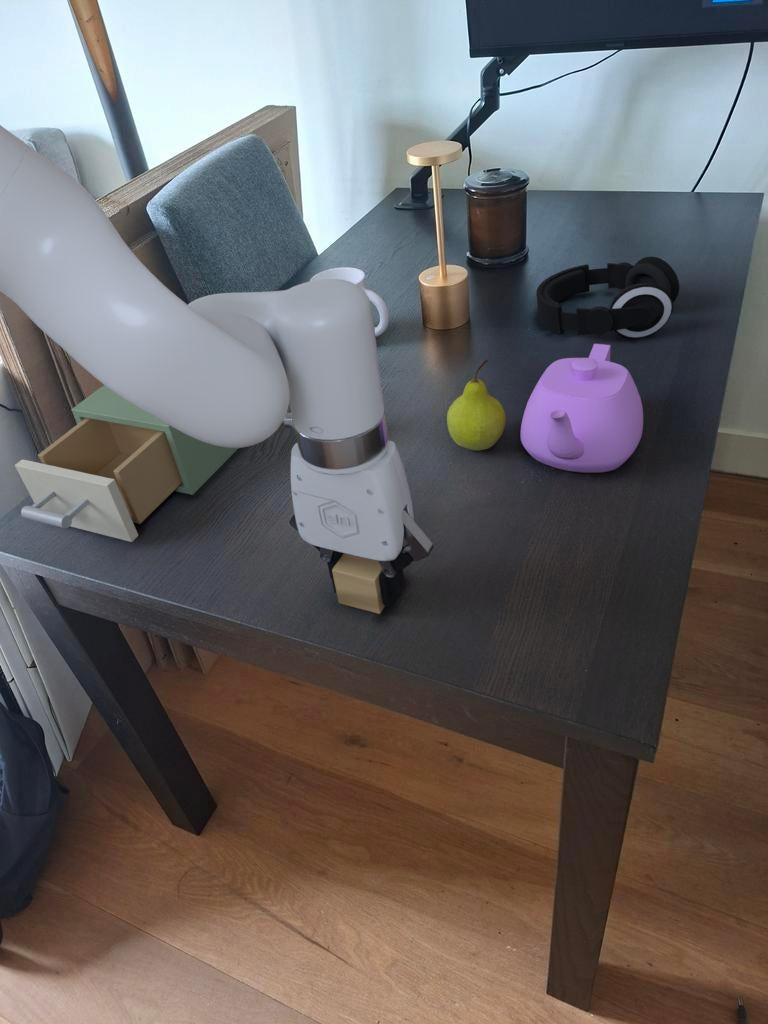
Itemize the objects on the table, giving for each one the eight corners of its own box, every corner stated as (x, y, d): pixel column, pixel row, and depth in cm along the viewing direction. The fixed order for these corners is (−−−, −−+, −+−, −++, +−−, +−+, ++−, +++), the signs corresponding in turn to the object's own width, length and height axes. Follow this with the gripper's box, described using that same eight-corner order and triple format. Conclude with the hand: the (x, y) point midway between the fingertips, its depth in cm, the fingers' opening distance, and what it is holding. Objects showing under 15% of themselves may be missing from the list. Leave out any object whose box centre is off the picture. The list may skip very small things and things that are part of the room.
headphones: (666, 293, 99) (519, 298, 108) (666, 348, 104) (525, 349, 113) (687, 244, 111) (552, 253, 120) (686, 295, 116) (556, 300, 125)
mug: (404, 336, 117) (397, 271, 110) (378, 361, 112) (369, 295, 105) (338, 327, 122) (328, 264, 116) (310, 350, 117) (298, 286, 110)
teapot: (494, 488, 85) (492, 403, 78) (549, 398, 98) (550, 318, 91) (615, 512, 80) (624, 423, 73) (655, 413, 93) (666, 330, 86)
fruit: (437, 450, 92) (429, 362, 85) (471, 424, 96) (466, 337, 88) (483, 468, 88) (479, 377, 81) (517, 440, 92) (516, 351, 84)
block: (380, 614, 72) (374, 580, 69) (338, 603, 74) (331, 569, 71) (399, 582, 75) (394, 549, 72) (358, 572, 77) (352, 539, 74)
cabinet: (192, 495, 91) (168, 426, 85) (99, 475, 97) (70, 409, 91) (257, 428, 101) (240, 363, 95) (170, 414, 107) (148, 351, 101)
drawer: (106, 568, 81) (78, 511, 76) (15, 542, 86) (-16, 487, 81) (202, 471, 93) (184, 416, 88) (118, 454, 98) (96, 402, 93)
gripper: (232, 443, 63) (275, 596, 75) (418, 477, 57) (434, 640, 68) (278, 398, 69) (312, 548, 80) (454, 424, 62) (463, 584, 73)
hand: (368, 588), depth 74 cm, fingers closed on block, 4 cm apart
